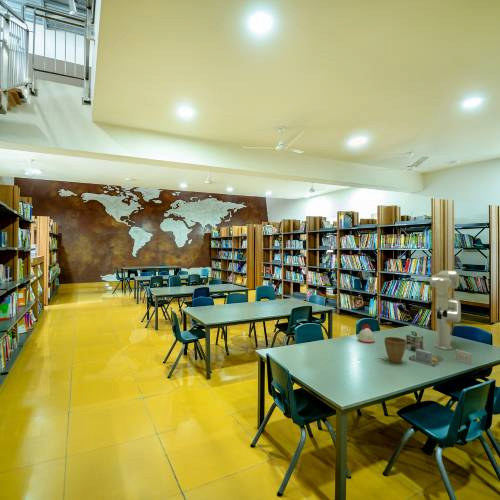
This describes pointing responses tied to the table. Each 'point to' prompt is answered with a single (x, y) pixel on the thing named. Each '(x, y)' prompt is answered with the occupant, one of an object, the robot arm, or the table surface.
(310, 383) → the table surface
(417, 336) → the model building
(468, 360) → the cassette
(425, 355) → the grey block
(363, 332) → the cupcake
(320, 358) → the table surface
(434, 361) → the hinge base
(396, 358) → the plant pot
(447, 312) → the robot arm
